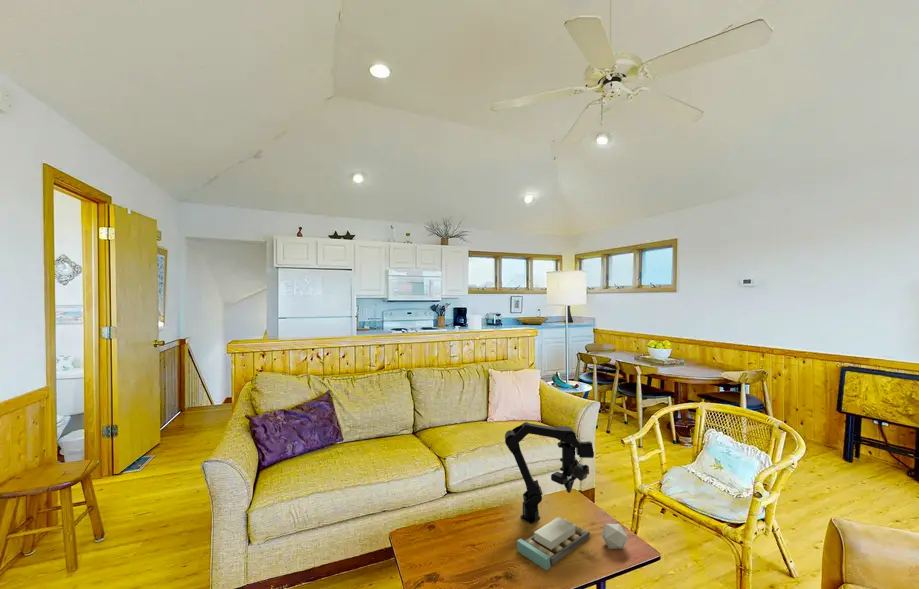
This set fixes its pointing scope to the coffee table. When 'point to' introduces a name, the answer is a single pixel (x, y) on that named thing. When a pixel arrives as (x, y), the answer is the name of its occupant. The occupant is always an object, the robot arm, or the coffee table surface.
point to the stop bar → (533, 554)
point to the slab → (554, 533)
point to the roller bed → (562, 544)
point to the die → (614, 536)
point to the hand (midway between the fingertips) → (569, 492)
